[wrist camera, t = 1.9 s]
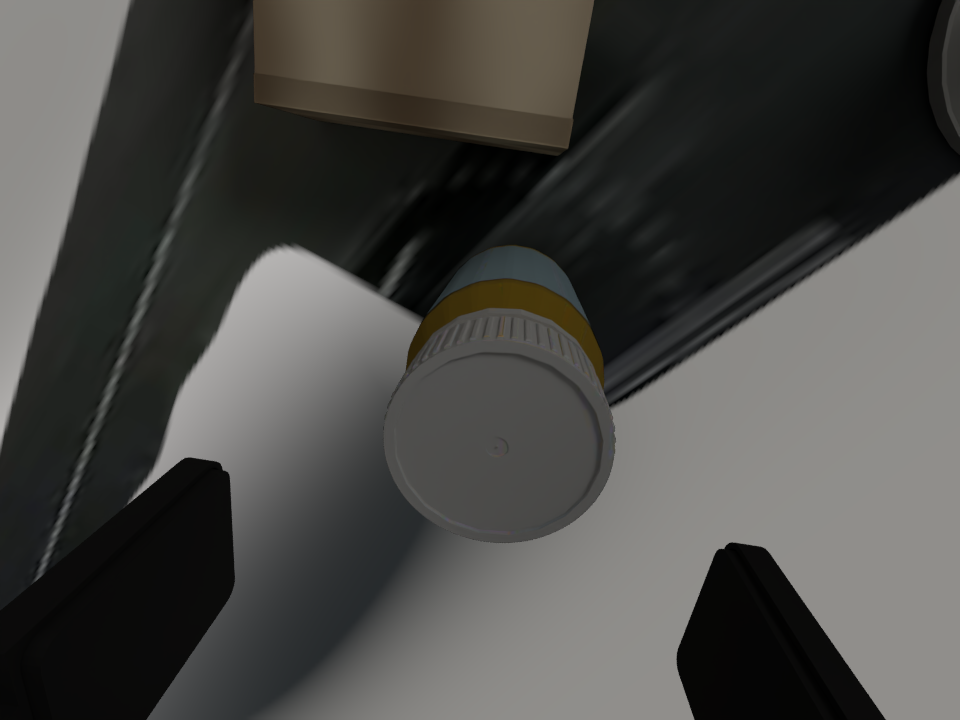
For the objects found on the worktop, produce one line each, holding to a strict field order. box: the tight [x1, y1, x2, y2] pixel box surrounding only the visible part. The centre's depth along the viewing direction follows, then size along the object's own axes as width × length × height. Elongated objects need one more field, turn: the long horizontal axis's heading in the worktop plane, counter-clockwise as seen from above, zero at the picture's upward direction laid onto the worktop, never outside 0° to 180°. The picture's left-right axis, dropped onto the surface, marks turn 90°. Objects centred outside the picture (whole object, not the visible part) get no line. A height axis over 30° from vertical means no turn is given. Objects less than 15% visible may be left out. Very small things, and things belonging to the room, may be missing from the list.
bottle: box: [383, 245, 616, 543], centre depth 20 cm, size 7×7×15 cm
